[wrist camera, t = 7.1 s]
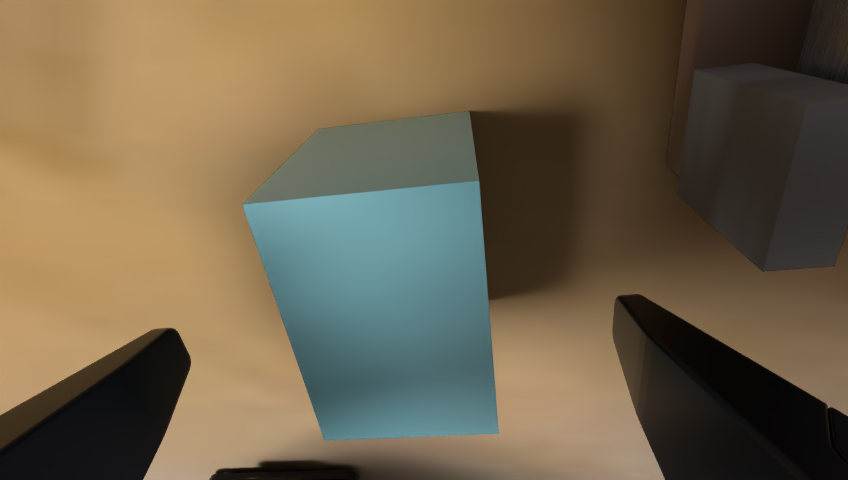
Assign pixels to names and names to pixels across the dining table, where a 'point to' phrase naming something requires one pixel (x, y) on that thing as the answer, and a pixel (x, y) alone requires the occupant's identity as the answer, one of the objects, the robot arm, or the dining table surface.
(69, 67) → the dining table surface
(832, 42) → the cutter lever
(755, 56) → the base
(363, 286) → the plug
